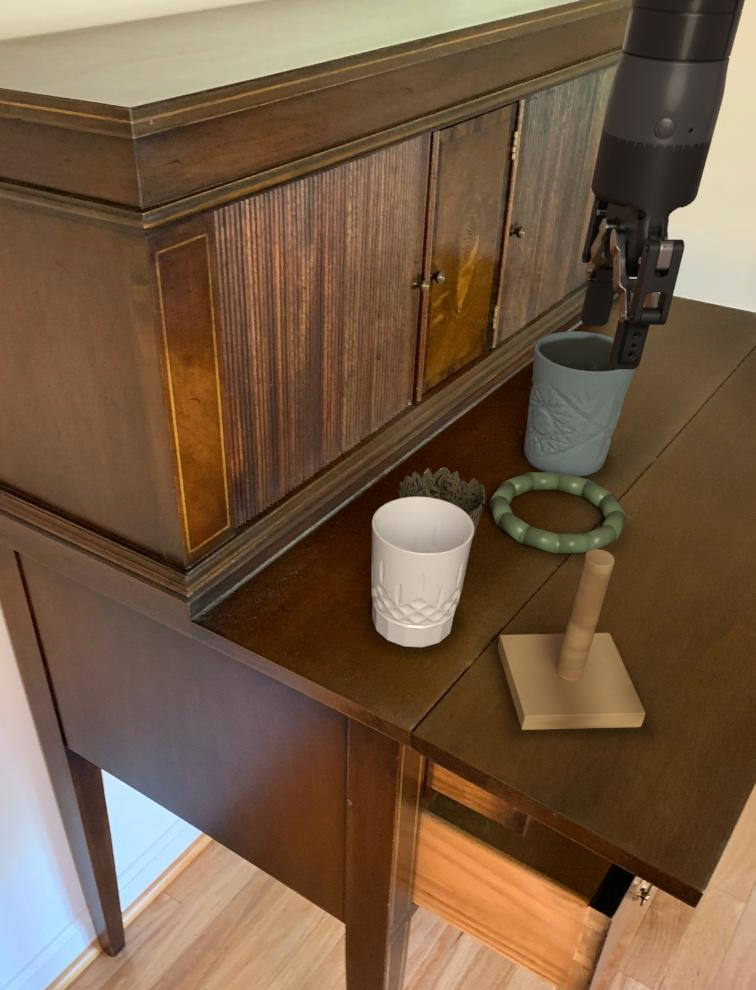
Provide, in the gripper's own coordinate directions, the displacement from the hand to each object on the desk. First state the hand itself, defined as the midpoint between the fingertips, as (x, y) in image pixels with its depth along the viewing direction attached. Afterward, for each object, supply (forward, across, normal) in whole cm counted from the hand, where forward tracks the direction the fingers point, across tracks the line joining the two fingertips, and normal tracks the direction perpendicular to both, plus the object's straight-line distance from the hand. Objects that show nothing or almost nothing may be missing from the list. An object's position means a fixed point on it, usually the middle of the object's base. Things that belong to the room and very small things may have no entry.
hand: (607, 344), depth 75 cm
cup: (+19, -4, +13) cm, 24 cm away
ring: (+18, +3, 0) cm, 18 cm away
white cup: (+19, -12, +16) cm, 28 cm away
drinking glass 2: (+19, +15, -4) cm, 25 cm away
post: (+19, -20, +5) cm, 28 cm away
